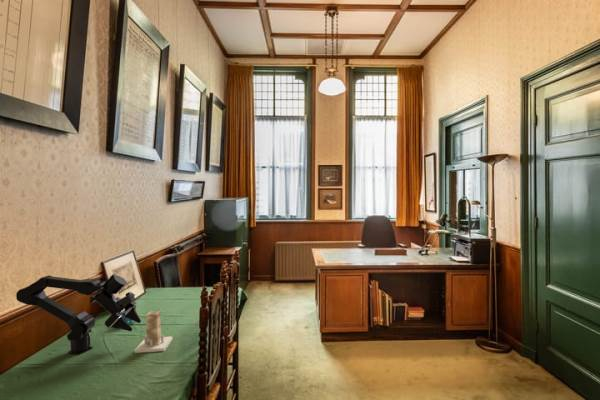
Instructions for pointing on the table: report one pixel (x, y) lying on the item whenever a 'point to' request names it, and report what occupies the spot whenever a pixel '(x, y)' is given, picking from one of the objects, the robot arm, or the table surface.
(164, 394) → the table surface
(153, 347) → the pin plate
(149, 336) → the maple block
